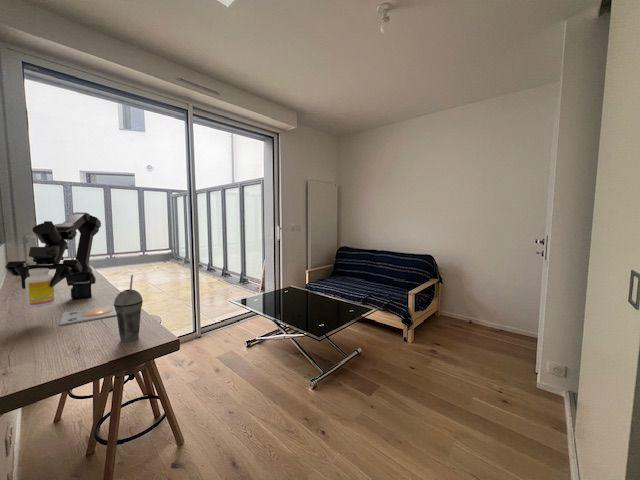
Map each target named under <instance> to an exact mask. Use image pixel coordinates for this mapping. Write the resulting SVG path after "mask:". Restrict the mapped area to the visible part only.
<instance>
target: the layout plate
mask: <svg viewBox="0 0 640 480" xmlns="http://www.w3.org/2000/svg"><path fill="white" fill-rule="evenodd" d="M113 317H117V314H116V311H115V306H114V304H111V305H105V306H99V307H92V308H85V309H79V310H73V311H66V312H62V316H61V318H60V322H59V327H62V326H66V325H73V324H78V323H83V322H84V323H85V322H90V321H95V320H101V319H108V318H113Z"/></svg>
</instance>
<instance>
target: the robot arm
mask: <svg viewBox="0 0 640 480" xmlns="http://www.w3.org/2000/svg"><path fill="white" fill-rule="evenodd" d="M101 227H102V223H101V220H100V219H99V218H98V217H96V216H94V215H91V214H90V213H88V212H80V211H79V212H73V213H72V215H70V217H69V218H67V219H66V220H65V221H63V222H62V223H55V224H54V223H53V221H52V220H51V221H49V220H48V221H47V220H44V221H43V222H42V223H39V224H36V225H35V226H33V227H32V232H33V233H34V235H35V236H36V238H37V239H38V240H39V241H40V243H41V244H44V246H30V247H29V251H28V257H29V258H30V257H31V258H33V259H32V261H33V263H32V264H31V263H27V261H25V260H10V261H8V262H6V265H5V266H4V268H5V269H6V270H7V271H8V272H9V273H10V274H11V275H12V276H15V277H20V279H21V280H20V282H21V289H23V290H25V279H26V278H27V277H30V274H29V270H30V269H35V268H49V271H51V270H52V271H53V270H54V271H55V273H54V274H53V276H52V277H53V278H52V281H51V283H50V287H53V286H54V287H55V286H56V285H57V284H59V283H60V282H62V280H64V279H65V280H66V283H67V284H66V285H67V287H71V288H70V297H71V299H72V300H83V299H88V298H92V297H93V294H92V285H94V284H96V280H97V278H96V276H95V274H94V273H93V268H91V266H90V264H89V263H90V259H91V252H92V246H93V240H94V237H95V235H96V234H97V233H99V231H100V228H101ZM77 230H78V232H79V233H80V234H79V240H78V244H77V250H76V256H75V259H73V258H72V259H71V258H70V259H65V258H64V253H65V251H66V250H69V246H68V241H72V240H73V239H75V238H76V237H77V235H78V234H77ZM61 261H62V263H61Z"/></svg>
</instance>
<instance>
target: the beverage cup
mask: <svg viewBox="0 0 640 480" xmlns="http://www.w3.org/2000/svg"><path fill="white" fill-rule="evenodd" d="M133 279H134V275H133V274H131V275H130V282H129V283H130V284H129V289H125V290H122V291H120V292H119V293H118V294H117V295H116V297H115V298H114V301H113V305H114V306H115V311H116V314H117V316H116V318H117V319H116V320H117V328H118V333H119V339H120V342H121V343H130V342H133V341H137V339H139V335H140V329H141V328H140V326H141V314H142V313H141V312H142V307H143V303H144V300H143V297H142V295H141V293H140V292H139V291H137V290H135V289H133V281H134V280H133Z"/></svg>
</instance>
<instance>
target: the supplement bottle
mask: <svg viewBox="0 0 640 480" xmlns="http://www.w3.org/2000/svg"><path fill="white" fill-rule="evenodd" d="M49 272H50V270H49V268H35V269H30V270H29V274H30V277H27V278H26V279H25V289H24V290H25V306H26V307H27V308H42V307H47V306H50V305H53V304H54V303H55V291H54V287H55V286H53V287H50V283H51V281H52V278H53V276H52V275H51V274H49Z"/></svg>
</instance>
